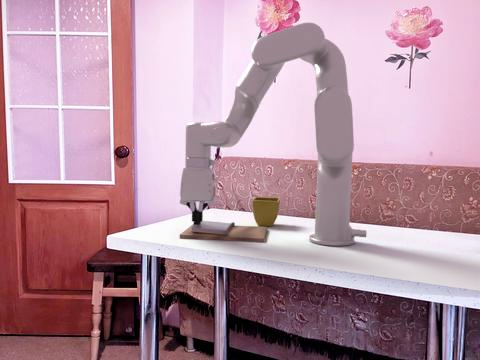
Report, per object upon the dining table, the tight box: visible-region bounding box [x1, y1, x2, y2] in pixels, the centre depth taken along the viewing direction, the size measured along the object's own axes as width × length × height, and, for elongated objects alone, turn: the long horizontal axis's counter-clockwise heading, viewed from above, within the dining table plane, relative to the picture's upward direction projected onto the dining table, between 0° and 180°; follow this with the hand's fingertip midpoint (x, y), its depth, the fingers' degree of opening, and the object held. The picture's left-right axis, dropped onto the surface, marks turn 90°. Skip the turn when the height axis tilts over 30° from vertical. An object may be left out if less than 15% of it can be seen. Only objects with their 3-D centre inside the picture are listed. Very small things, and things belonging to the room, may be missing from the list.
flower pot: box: [251, 196, 281, 227], centre depth 148 cm, size 9×9×9 cm
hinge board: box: [179, 221, 268, 243], centre depth 132 cm, size 24×18×2 cm
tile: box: [191, 220, 232, 234], centre depth 132 cm, size 10×12×1 cm
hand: (197, 223), depth 133 cm, fingers closed
